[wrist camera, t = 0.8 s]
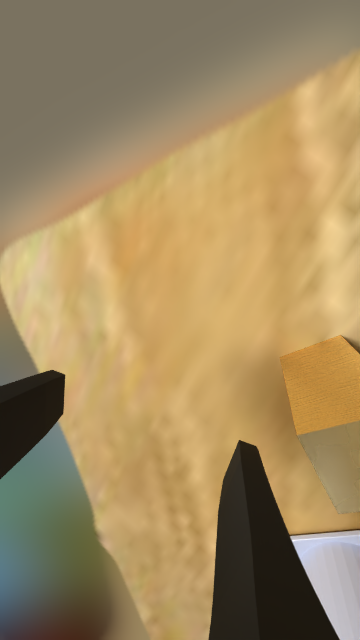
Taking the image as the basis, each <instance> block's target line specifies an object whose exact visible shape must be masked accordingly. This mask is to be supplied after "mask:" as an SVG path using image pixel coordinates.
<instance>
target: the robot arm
mask: <svg viewBox="0 0 360 640" xmlns="http://www.w3.org/2000/svg"><path fill="white" fill-rule="evenodd" d="M64 388H65V374H62V373H59V372H57V371H54V370H50V371H46V372H43V373H40V374H37V375H34V376H30V377H27V378H24V379H21V380H18V381H15V382H12V383H9V384H6V385H3V386H0V479H1V478H2V477H3V476H4V475H5V474H6V473H7V472H8V471H9V470H10V469H11V468H13V466H15V465H16V464H17V463H18V462H19V461H20V460H21V459H22V458H23V457H24V456H25V455H26V454H27V453H28V452H29V451H30V450H31V449H32V448H33V447H34V446H35V445H36V444H37V443H38V442H39V441H40V440H41V439H42V438H43V437H44V436H45V435H46V434H47V433H48V432H49V431H50V429H51V428H52V427H53V426H54V425H55V423H56V422H57V421H58V420H59V418H60V417H61V416H62V415H63V409H64ZM209 640H360V530H355V531H344V532H332V533H320V534H308V535H297V536H290V535H289V533H288V530H287V528H286V526H285V523H284V521H283V518H282V516H281V513H280V511H279V508H278V505H277V503H276V500H275V498H274V495H273V492H272V490H271V487H270V484H269V481H268V478H267V476H266V473H265V470H264V467H263V464H262V461H261V457H260V454H259V451H258V449H257V447H256V446H254V445H251V444H249V443H246V442H243V441H241V440H239V442H238V444H237V447H236V449H235V452H234V454H233V457H232V459H231V461H230V464H229V466H228V469H227V471H226V474H225V476H224V479H223V485H222V491H221V497H220V504H219V510H218V525H217V541H216V558H215V575H214V592H213V605H212V616H211V625H210V633H209Z"/></svg>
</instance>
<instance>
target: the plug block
mask: <svg viewBox="0 0 360 640" xmlns="http://www.w3.org/2000/svg"><path fill="white" fill-rule="evenodd" d="M280 360H281V365H282V370H283V374H284V379H285V383H286V388H287V393H288V397H289V402H290V406H291V411H292V416H293V420H294V425H295V429H296V434H297V437H298V439H299V440H300V442H301V444H302V446H303V448H304V450H305V452H306V454H307V456H308V457H309V459H310V461H311V463H312V465H313V467H314V469H315V471H316V473H317V474H318V476H319V478H320V480H321V482H322V484H323V486H324V488H325V490H326V491H327V493H328V495H329V497H330V499H331V501H332V503H333V505H334V507H335V508H336V510H337V512H338V514H343V513H352V512H360V354H359V353H358V352H357V351H356V350H355V349H354V348H353V347H352V346H351V345H350V344H349V343H348V342H347V341H346V340H345V339H344V338H343V337H342V336H341V335H339V336H337V337H334V338H331V339H328V340H326V341H323V342H320V343H317V344H315V345H312V346H309V347H307V348H304V349H301V350H298V351H296V352H293V353H290V354H288V355H285V356H282V357H280Z"/></svg>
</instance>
